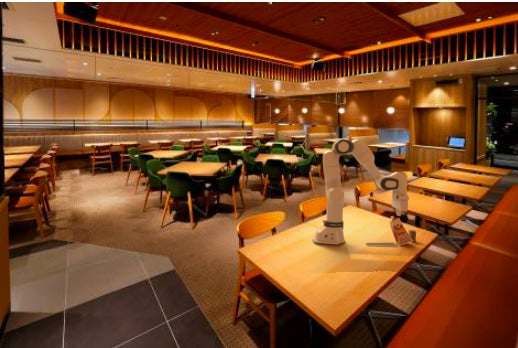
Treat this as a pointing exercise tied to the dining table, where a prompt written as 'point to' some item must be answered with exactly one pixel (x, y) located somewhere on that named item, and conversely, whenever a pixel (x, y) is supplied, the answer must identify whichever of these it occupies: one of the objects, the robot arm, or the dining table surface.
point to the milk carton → (399, 231)
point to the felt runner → (382, 244)
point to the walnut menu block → (412, 235)
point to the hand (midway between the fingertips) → (398, 215)
